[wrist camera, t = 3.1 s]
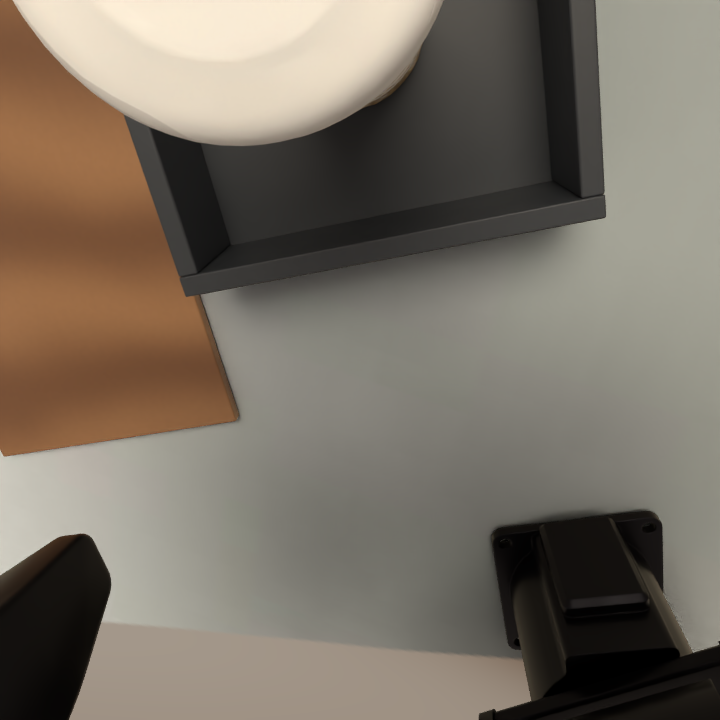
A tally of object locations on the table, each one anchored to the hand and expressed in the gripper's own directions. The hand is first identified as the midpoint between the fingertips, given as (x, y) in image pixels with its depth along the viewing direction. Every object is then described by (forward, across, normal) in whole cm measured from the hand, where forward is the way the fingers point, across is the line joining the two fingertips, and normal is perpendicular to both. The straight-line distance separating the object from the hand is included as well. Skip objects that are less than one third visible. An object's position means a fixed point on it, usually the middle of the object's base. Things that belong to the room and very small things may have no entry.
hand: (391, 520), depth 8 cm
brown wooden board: (+13, +12, -3) cm, 18 cm away
